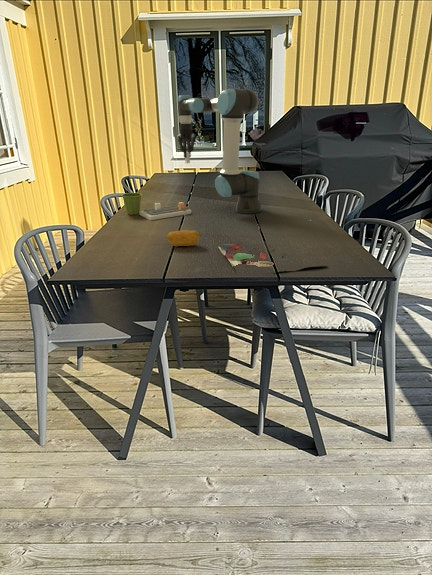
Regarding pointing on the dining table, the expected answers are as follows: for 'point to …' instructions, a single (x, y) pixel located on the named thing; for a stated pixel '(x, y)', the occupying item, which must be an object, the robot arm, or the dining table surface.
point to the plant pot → (132, 202)
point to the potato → (183, 238)
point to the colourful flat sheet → (242, 256)
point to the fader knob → (181, 205)
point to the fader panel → (163, 212)
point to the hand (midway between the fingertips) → (187, 162)
